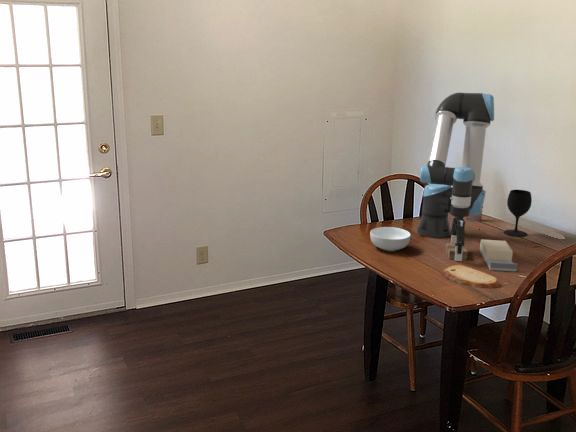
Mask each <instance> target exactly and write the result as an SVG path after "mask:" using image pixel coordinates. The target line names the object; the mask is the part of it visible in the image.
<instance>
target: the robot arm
mask: <svg viewBox="0 0 576 432" xmlns="http://www.w3.org/2000/svg"><path fill="white" fill-rule="evenodd" d="M457 120H463V121H462V123H463V125H464V126H465V135H464V143H463V151H462V160H461V161H462V162H461V166H458V167H457V166H456V167H448V166H446V164H447V160H448V155H449V150H450V149H449V148H450V144H451V140H452V139H451V138H452V133H453V128H454V124H456V122H457ZM494 120H495V100H494V96H493V95H492V94H491V93H483V92H480V93H478V92H455V93H452V94H450V95H449V96H447V97H445V98H444V99H443V100H442V101H441V102H440V104H439V105H438V107H437V108H436V111H435V114H434V121H435V125H434V129H433V135H432V141H431V144H430V150H429V155H428V159H427V164H425V165H424V164H423V165H422V166H421V168H420V170H419V181H420V182H421V183H423V184H427V185H425V186H424V190H423V194H422V197H423V200H422V210H421V211H422V212H421V217H420V220H419V222H418V224H417V226H416V233H417V234H419V235H421V236H423V237H426V238H427V237H428V238H435V239H436V238H439V239H440V238H441V239H442V238H447V237H451V239H450V243H455V246H456V250H455V260H454V261H455V262H462V261H463V260H462V253H463V246H465V245H466V244H465V228H466V227H465V226H466V220H465V217H467V216H469V215H479V214H480V212H481V209H482V210H483V208H482V206H483V207H484V202H485V198H486V197H485V196H486V193H487V191H486V190H485V189H484V185H483V184H482V182H481V176H482V168H483V167H482V166H483V157H484V149H485V142H486V141H485V140H486V134H487V133H486V131H487V129H488V128H489V126H490V125H491V122H493V121H494ZM449 215H451V216H453V219H452V223H451V224H452V225H450V222H449Z"/></svg>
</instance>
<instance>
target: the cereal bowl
mask: <svg viewBox="0 0 576 432" xmlns="http://www.w3.org/2000/svg"><path fill="white" fill-rule="evenodd" d="M369 236H370V241H371V243H372V244H373V245H374V246H375V247H376V248H379V249H380V250H382V249H383V250H382V251H385V250H386V252H397V251H399V250H401V249H404V248H406V247H407V246H408V245H409V243H410V241H411V233H410V232H409V231H408V230H406V229H403V228H401V227H400V228H399V227H392V226H382V227H376V228H373V229H371V230H370V232H369ZM396 250H397V251H396Z"/></svg>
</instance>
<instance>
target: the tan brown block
mask: <svg viewBox="0 0 576 432" xmlns="http://www.w3.org/2000/svg"><path fill="white" fill-rule="evenodd" d="M455 250H456V246H455V243H451V242H446V243H445V254H446V256H447V258H448V260H453V261H455ZM467 258H468V250H467V248H466V247H465V245H464V246H463V253H462V261H467Z"/></svg>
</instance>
